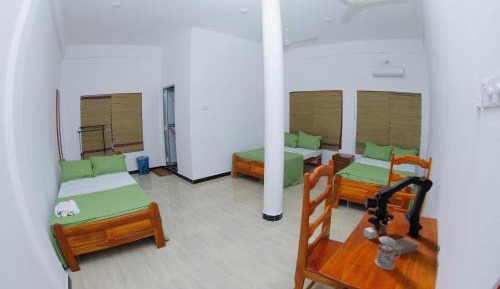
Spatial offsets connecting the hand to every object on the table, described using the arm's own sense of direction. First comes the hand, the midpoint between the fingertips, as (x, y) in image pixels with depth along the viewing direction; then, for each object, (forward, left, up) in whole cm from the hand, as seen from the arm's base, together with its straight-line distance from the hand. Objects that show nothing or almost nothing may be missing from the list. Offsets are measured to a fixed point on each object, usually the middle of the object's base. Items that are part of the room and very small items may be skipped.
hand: (379, 230), depth 174 cm
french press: (+27, +24, -1) cm, 36 cm away
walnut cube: (0, 0, -1) cm, 1 cm away
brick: (+6, +19, -2) cm, 20 cm away
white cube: (+11, +1, -1) cm, 11 cm away
